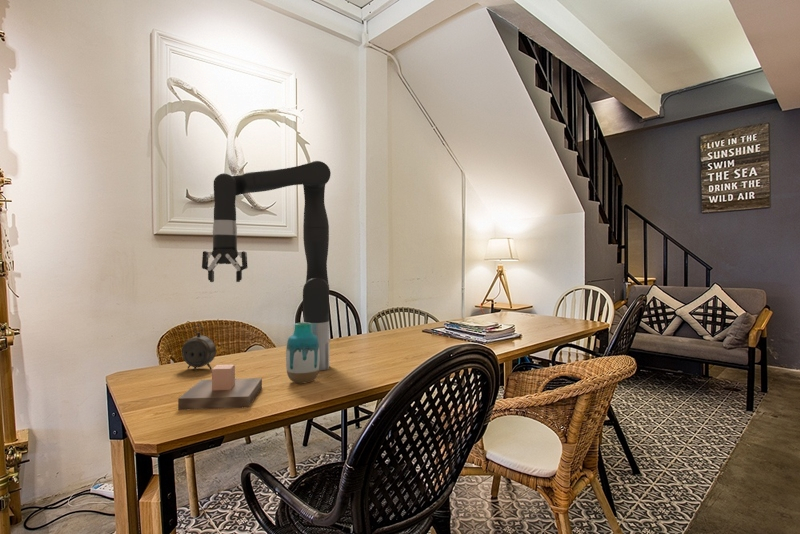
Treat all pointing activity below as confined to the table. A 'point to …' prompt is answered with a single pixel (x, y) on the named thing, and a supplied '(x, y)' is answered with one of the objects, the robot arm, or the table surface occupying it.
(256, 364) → the table surface
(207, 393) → the walnut base
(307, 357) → the vase
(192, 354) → the alarm clock
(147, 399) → the table surface
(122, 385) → the table surface
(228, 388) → the pink block
